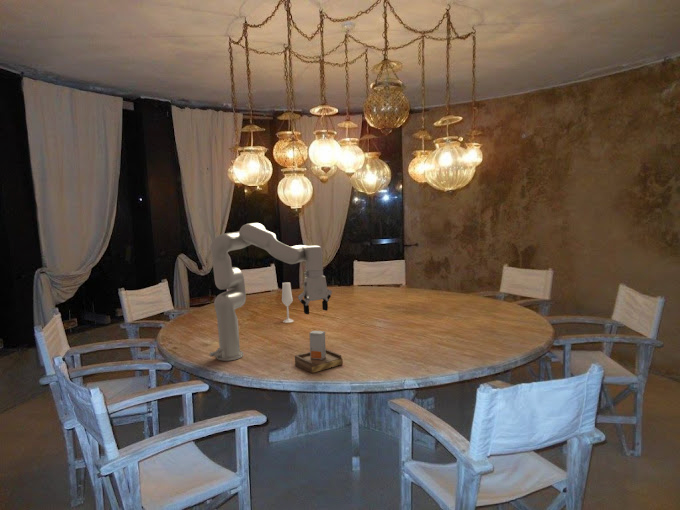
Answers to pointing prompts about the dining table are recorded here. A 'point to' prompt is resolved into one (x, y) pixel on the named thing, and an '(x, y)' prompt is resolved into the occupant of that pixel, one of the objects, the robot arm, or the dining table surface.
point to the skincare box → (317, 345)
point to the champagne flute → (287, 298)
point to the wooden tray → (318, 361)
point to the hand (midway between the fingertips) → (316, 312)
